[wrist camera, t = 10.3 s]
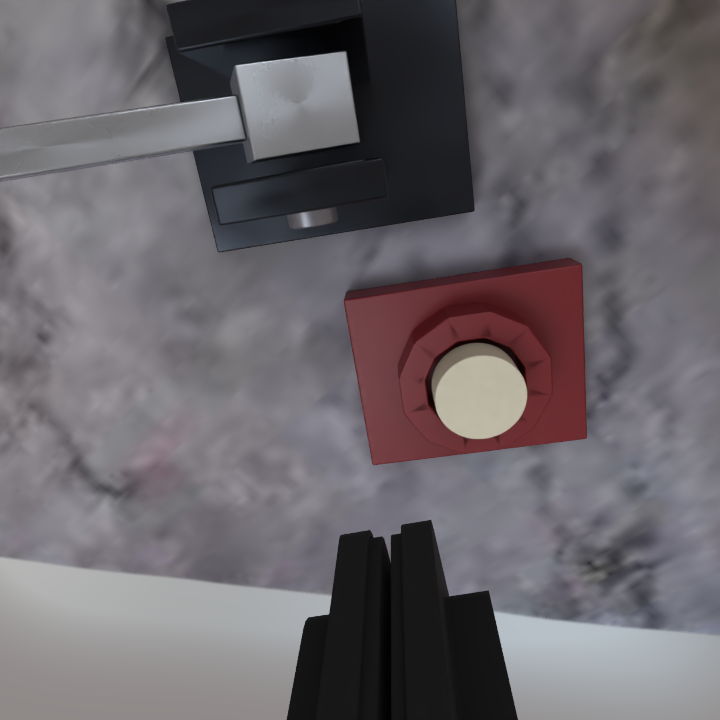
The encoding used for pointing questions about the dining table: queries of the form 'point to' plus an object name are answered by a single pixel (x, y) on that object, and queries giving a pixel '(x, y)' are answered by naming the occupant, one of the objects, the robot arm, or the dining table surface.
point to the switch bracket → (372, 105)
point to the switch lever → (203, 122)
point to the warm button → (478, 391)
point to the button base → (463, 326)
